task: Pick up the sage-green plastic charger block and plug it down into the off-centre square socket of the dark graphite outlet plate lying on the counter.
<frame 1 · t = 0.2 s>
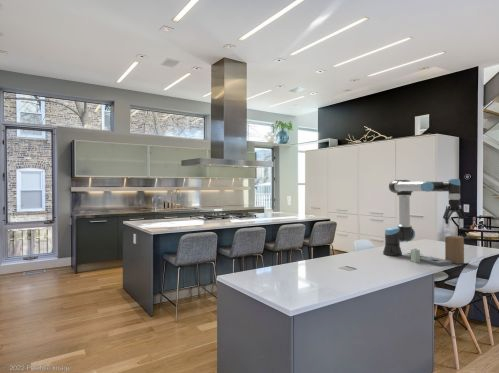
hand: (454, 227, 255), 28 cm above the countertop, fingers open, 13 cm apart
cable: (426, 257, 280), on the countertop
block: (454, 262, 262), on the countertop
phone: (421, 259, 276), on the countertop
outlet plate: (434, 262, 262), on the countertop
charger: (415, 261, 265), on the countertop
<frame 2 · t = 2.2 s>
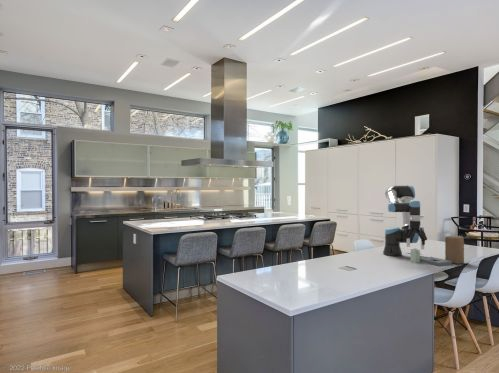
hand: (415, 248, 265), 11 cm above the countertop, fingers open, 13 cm apart
nothing on the countertop moved.
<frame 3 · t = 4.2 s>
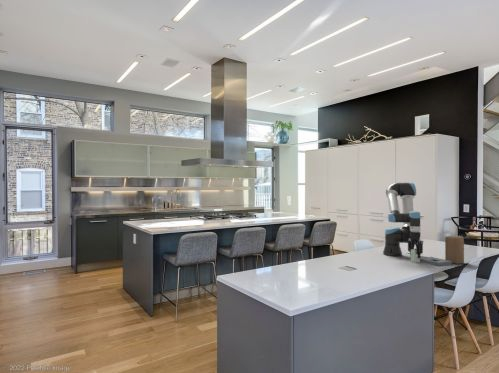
hand: (415, 261, 265), 0 cm above the countertop, fingers closed on charger, 4 cm apart
charger: (415, 261, 265), on the countertop, touching gripper
everything else where it was.
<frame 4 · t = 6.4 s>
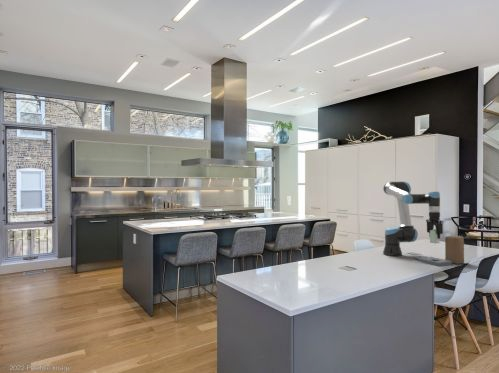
hand: (434, 242, 259), 16 cm above the countertop, fingers closed on charger, 4 cm apart
charger: (434, 242, 259), point 16 cm above the countertop, touching gripper
everything else where it was.
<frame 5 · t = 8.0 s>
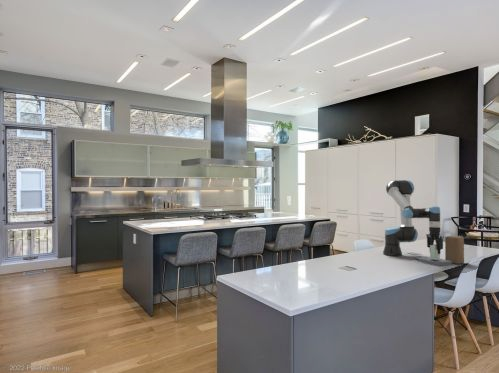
hand: (435, 257, 259), 5 cm above the countertop, fingers closed on charger, 4 cm apart
charger: (435, 257, 259), point 4 cm above the countertop, touching gripper
everything else where it was.
when the fingers open (3 cm above the countertop, at t = 8.9 s): charger drops 3 cm, resting in outlet plate.
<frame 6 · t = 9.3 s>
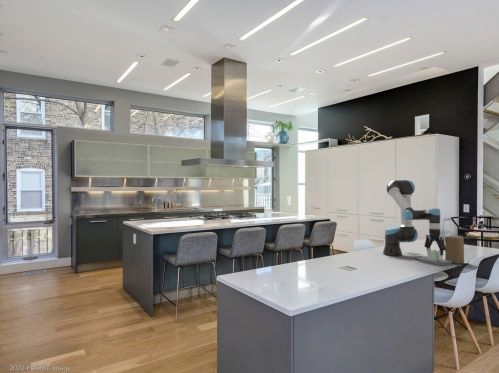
hand: (434, 258, 259), 4 cm above the countertop, fingers open, 9 cm apart
charger: (434, 263, 259), resting in outlet plate
everything else where it was.
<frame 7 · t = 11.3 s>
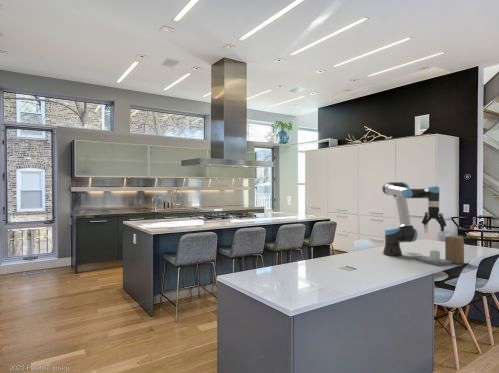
hand: (433, 234, 261), 22 cm above the countertop, fingers open, 13 cm apart
nothing on the countertop moved.
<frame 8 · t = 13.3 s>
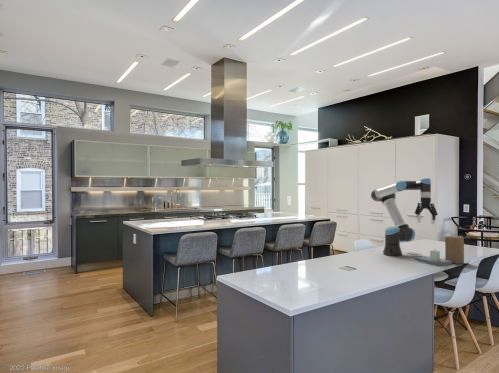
hand: (425, 223, 278), 29 cm above the countertop, fingers open, 13 cm apart
nothing on the countertop moved.
at the end: charger 0.0 cm from the target spot on the outlet plate, point 0.0 cm above the outlet plate's base; charger tilted 0°; the gripper is holding nothing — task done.
